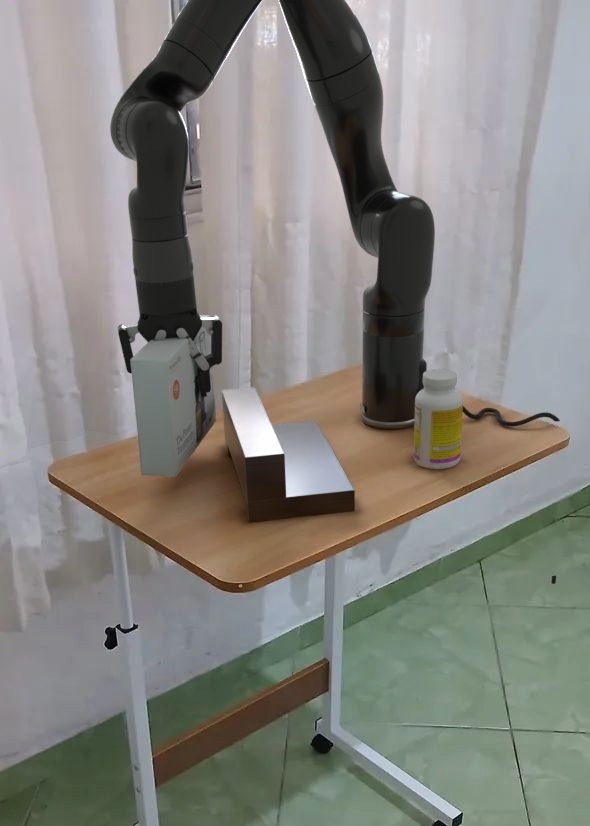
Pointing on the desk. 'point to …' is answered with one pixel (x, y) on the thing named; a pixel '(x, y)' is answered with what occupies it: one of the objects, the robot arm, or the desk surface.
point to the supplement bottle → (438, 420)
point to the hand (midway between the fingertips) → (177, 397)
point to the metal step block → (282, 462)
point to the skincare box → (170, 403)
